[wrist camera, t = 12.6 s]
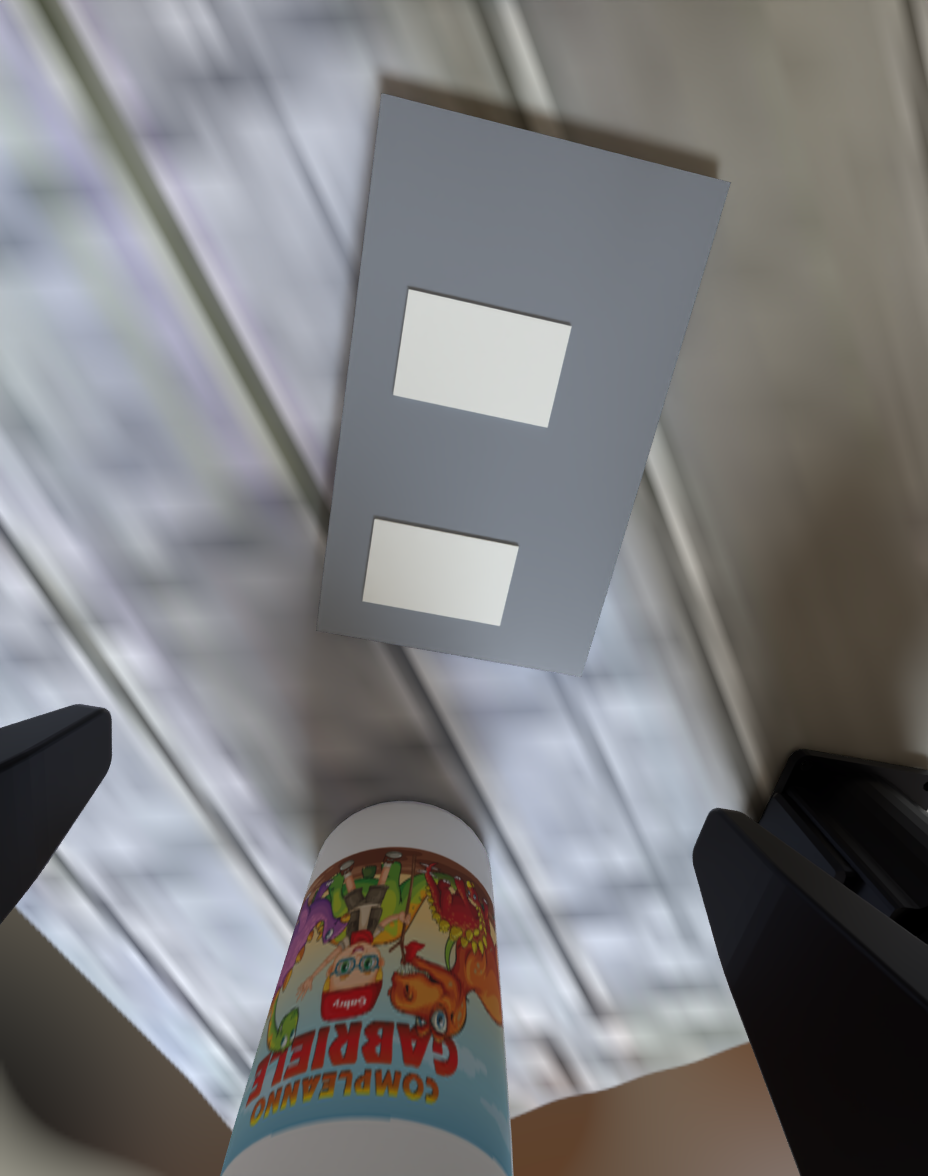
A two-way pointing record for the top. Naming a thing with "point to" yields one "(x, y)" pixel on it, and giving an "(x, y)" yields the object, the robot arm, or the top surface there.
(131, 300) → the top surface
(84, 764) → the robot arm
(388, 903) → the milk bottle
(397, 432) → the label panel
